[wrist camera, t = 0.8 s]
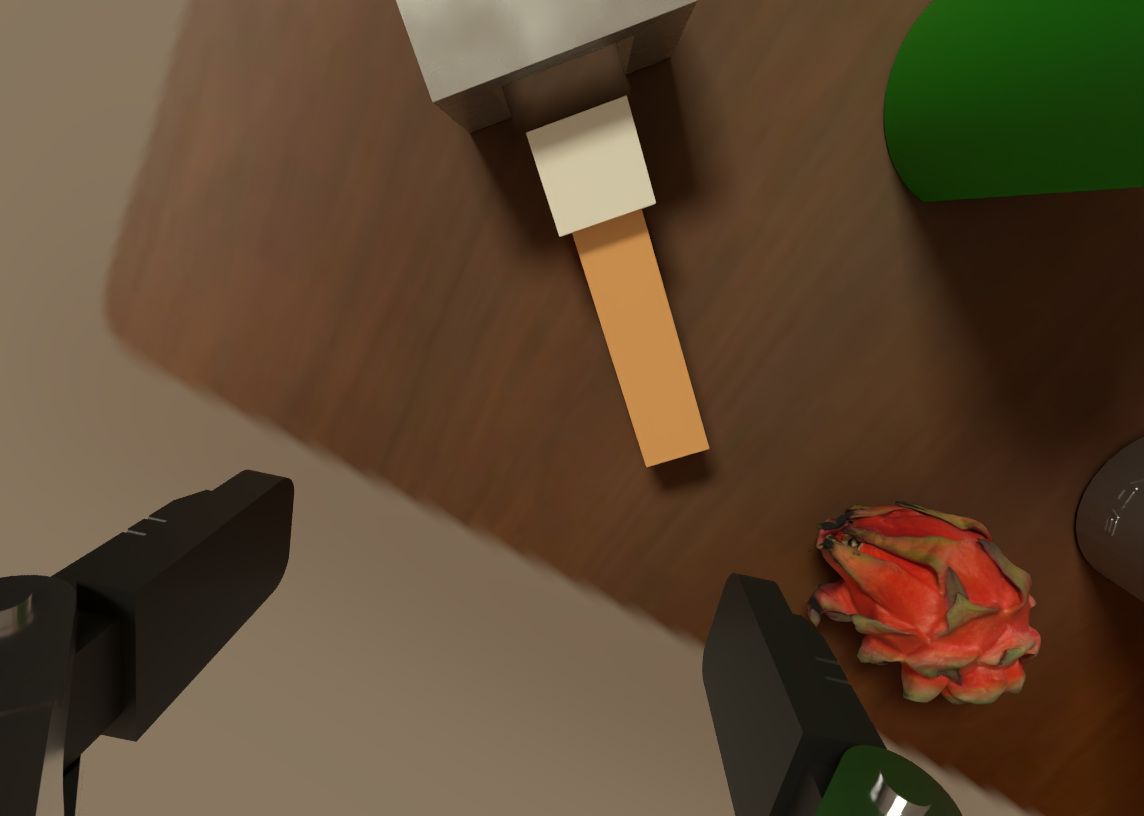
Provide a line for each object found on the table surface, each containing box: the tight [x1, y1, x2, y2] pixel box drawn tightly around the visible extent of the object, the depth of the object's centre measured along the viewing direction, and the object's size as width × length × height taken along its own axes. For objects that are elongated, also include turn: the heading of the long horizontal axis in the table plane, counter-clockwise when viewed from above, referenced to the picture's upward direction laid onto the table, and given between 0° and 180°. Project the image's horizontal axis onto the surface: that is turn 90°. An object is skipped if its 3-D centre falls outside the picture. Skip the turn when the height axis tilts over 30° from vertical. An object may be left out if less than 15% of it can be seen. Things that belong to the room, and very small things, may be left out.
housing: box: [396, 0, 697, 133], centre depth 22 cm, size 5×9×6 cm, turn 108°
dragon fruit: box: [795, 501, 1041, 705], centre depth 28 cm, size 8×8×12 cm
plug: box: [526, 96, 709, 467], centre depth 26 cm, size 15×4×4 cm, turn 18°
